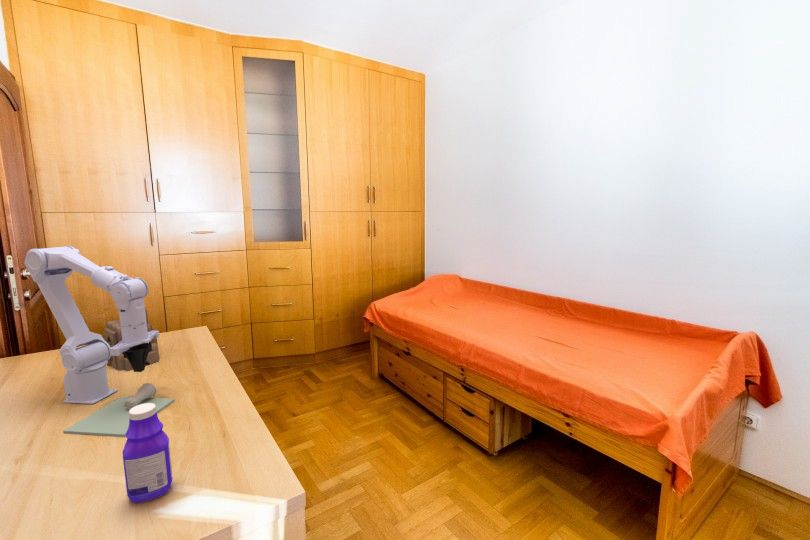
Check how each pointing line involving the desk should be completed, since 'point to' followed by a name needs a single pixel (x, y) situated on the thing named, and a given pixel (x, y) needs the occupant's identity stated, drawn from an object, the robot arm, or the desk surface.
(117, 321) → the wooden puzzle
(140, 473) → the bottle
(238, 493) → the desk surface
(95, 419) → the mat
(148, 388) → the rook chess piece
